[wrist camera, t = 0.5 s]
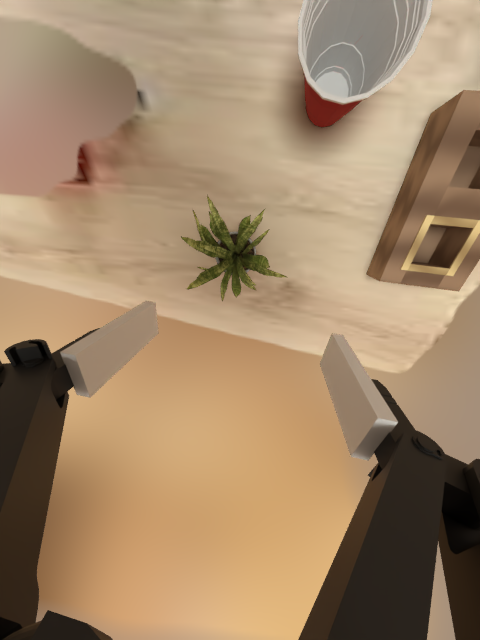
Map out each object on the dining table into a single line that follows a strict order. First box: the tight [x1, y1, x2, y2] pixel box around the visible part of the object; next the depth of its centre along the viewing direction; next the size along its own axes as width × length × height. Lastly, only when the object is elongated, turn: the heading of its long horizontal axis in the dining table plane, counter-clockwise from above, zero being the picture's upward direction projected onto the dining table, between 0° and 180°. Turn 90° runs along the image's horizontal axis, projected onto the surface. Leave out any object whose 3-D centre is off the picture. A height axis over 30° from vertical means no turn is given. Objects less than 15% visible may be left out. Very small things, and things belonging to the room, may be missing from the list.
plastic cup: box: [298, 0, 433, 127], centre depth 21 cm, size 11×11×12 cm
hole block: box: [367, 90, 480, 291], centre depth 28 cm, size 22×12×5 cm, turn 174°
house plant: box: [181, 195, 288, 301], centre depth 30 cm, size 14×14×16 cm
